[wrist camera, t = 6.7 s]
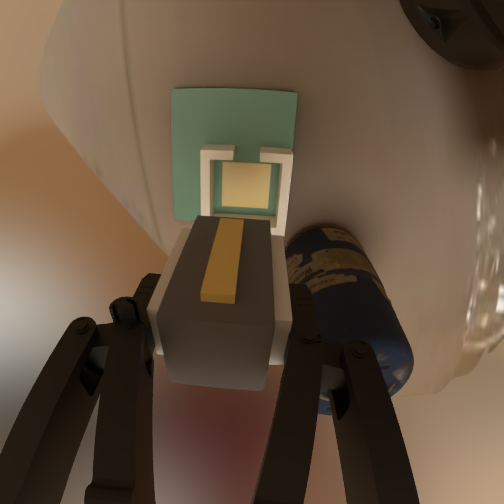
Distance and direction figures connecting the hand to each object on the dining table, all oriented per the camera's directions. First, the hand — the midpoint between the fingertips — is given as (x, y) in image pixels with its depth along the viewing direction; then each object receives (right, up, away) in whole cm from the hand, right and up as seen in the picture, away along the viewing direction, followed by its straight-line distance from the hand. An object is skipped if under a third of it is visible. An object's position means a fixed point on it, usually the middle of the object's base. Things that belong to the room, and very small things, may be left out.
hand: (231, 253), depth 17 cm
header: (+1, +6, +11) cm, 12 cm away
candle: (+9, -1, +16) cm, 19 cm away
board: (-1, +9, +10) cm, 14 cm away
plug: (0, 0, +1) cm, 1 cm away
